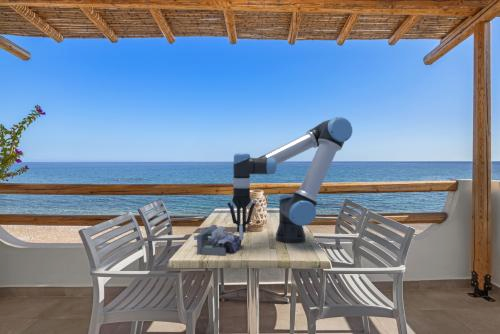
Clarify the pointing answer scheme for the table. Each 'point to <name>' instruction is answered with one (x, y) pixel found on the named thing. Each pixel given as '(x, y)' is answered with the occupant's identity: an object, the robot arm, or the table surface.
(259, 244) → the table surface
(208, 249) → the frame
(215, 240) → the gauge plunger
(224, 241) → the rock
